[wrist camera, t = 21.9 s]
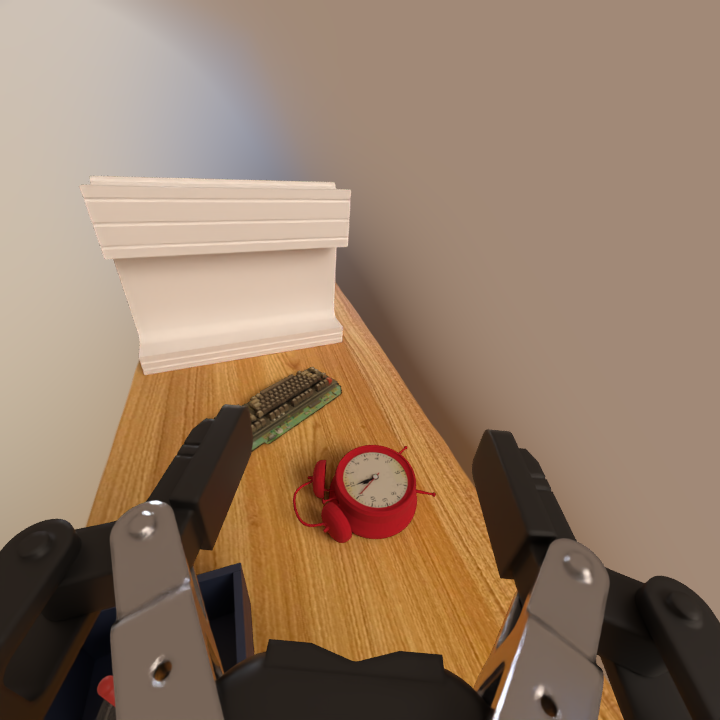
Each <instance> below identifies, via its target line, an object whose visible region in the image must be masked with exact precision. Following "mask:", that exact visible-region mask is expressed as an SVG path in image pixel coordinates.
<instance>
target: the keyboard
mask: <svg viewBox="0 0 720 720" xmlns="http://www.w3.org/2000/svg"><path fill="white" fill-rule="evenodd" d="M296 374H297V375H296V376H294V375H292V374H291V375H289V376H288V377H286V378H284V379H282V380H280V381H279V382H277V383H275V384H273V385H271V386H269V387H268V388H266V389H264V390H262V391H260V393H258V394H256V395H255V396H253V397H251V399H250V400H251V401H250V402H248V403H247V404H244V405H242V406H247V407H248V408H249V412H250V419H251V427H252V434H253V447H252V451H254V450H255V449H257V448H258V447H259V446H260V445H262V444H263V443H266V444H270V443H272V442H273V441H274V440H276V439H277V438H279V437H280V436H281V435H283V434H284V433H286V432H287V431H289V430H290V429H291V428H293V427H294V426H296V425H298V424H299V423H300V422H302V421H303V420H305V419H306V418H308V417H309V416H310V415H312V414H314V413H315V412H316V411H318V410H319V409H321V408H322V407H324V406H325V405H326V404H328V403H329V402H331V401H332V400H334V399H335V398H336V397H338V396H339V395H340V394H342V392H341V391H342V390H341V386H340V385H339V383H337V381H336V380H334V379H332V378H330V377H328V376H327V375H326V373H321V372H320V371H319V370H317V369H315V368H314V367H310V368H309V369H307V370H305V371H303V372H301V371H298V372H297V373H296ZM238 406H240V405H239V404H238ZM215 418H216V417H214V419H215Z"/></svg>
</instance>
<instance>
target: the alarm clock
mask: <svg viewBox="0 0 720 720" xmlns="http://www.w3.org/2000/svg"><path fill="white" fill-rule="evenodd" d="M405 449H407V446H404V449H403V450H401V451H400V452H399V453H398V452H396V451H394V450H392V449H390V448H387V447H384V446H379V445H365V446H361V447H358V448H355V449H353V450H351V451H350V452H348V453H347V454H346V455H345V456H344V457H343V458H342V459H341V461H340V462H339V464H338V466H337V469H336V472H335V476H334V477H333V479H332V482H331V485H330V489H325V476H326V460H320V461H318V462H317V463H316V465H315V468H314V472H313V476H308V479H311V481H309V482H307V483H305V484H303V485H301V486H300V487H299V488H298V489H297V490H296V491H295V493H294V497H293V505H294V511H295V513H296V516H297V518H298V519H299V521H300V522H301V523H302V524H303V525H305V526H308V527H316V526H322V525H324V527H325V529H324V530H323V531H324V532H326V531H327V532H328V533H329V534H330V536H331V537H332V538H333V539H334V540H335V541H337V542H339V543H345V542H347V541H348V540H349V539H350V538H351V537H352V533H354V534H356V535H359V536H361V537H365V538H371V539H382V538H387V537H391V536H393V535H395V534H397V533H399V532H401V531H402V530H403V529H404V528H406V527H407V526H408V524H409V523H410V522H411V520H412V518H413V516H414V514H415V510H416V506H417V496H416V493H421V494H428V495H432V496H433V497H435V495H436V493H434V492H433V493H429V492H425V491H421V490H416V479H415V474H414V471H413V469H412V467H411V465H410V464H409V462H408V461H407V460H406V459H405V458H404V457H403V456H402V455H401V453H402V452H403V451H404V450H405ZM312 482H313V492H314V494H315V496H316V497H318V498H324V491H329V499H327V500H324V499H322V503H323V504H325V502H327V501H329V502H328V503H327V504H326V505H325V506H324V507H323V509H322V512H321V517H322V521H323V523H319V524H307V523H305V522H304V521H302V519H301V518H300V516H299V514H298V512H297V509H296V501H295V499H296V494H297V492H298V491H299V490H300V489H301V488H302V487H304V486H306V485H308V484H310V483H312Z"/></svg>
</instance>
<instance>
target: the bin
mask: <svg viewBox="0 0 720 720" xmlns="http://www.w3.org/2000/svg"><path fill="white" fill-rule="evenodd" d="M196 576H197V579H198V583H199V587H200V591H201V594H202V598H203V602H204V605H205V609H206V613H207V616H208V620H209V624H210V627H211V631H212V634H213V637H214V640H215V643H216V647H217V650H218V653H219V657H220V660H221V664H222V668H223V671H224V673H225V672H226V671H228V670H229V669H231V668H232V667H233V666H235V665H236V664H238V663H239V662H241V661H243V660H245V659H247V658H248V657H251V656H253V655H254V646H253V632H252V618H251V604H250V599H249V595H248V591H247V587H246V583H245V578H244V574H243V570H242V566H241V563H237V564H234V565H230V566H227V567H223V568H220V569H217V570H213V571H210V572H206V573H203V574H199V575H196ZM116 617H117V613H116V607H112V608H108V609H105V610H101V612H100V614H99V616H98V618H97V619H96V621H95V623H94V625H93V627H92V629H91V631H90V633H89V634H88V636H87V638H86V640H85V642H84V644H83V646H82V648H81V649H80V651H79V653H78V655H77V657H76V659H75V661H74V663H73V665H72V666H71V668H70V670H69V672H68V674H67V676H66V678H65V680H64V681H63V683H62V685H61V687H60V689H59V691H58V693H57V695H56V697H55V698H54V700H53V702H52V704H51V706H50V708H49V710H48V712H47V713H46V715H45V717H44V719H43V720H96V718H97V715H98V712H99V710H100V707H101V705H102V703H103V701H104V698H102V697H101V696H100V695H99V694H98V692H97V687H98V685H99V683H100V681H101V680H102V679H103V678H105V677H106V676H110V675H111V676H113V669H112V656H111V642H110V632H111V626H112V624H113V623H114V622H116Z"/></svg>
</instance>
